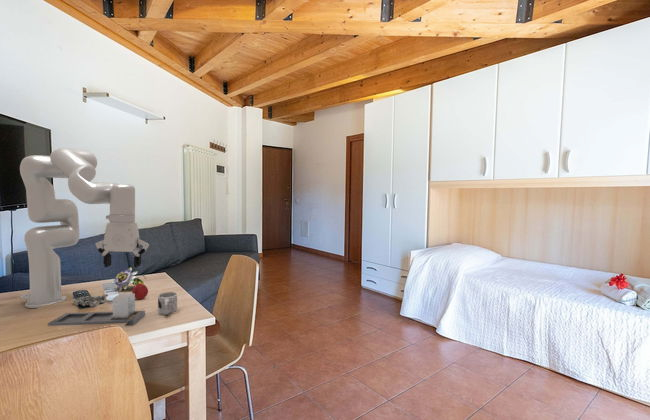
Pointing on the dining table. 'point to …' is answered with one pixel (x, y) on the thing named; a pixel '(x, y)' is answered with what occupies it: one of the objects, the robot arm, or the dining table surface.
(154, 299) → the dining table surface
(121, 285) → the passion flower
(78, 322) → the rail
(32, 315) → the dining table surface
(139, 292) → the onion
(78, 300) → the egg carton
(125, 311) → the block
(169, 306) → the mug
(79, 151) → the robot arm
